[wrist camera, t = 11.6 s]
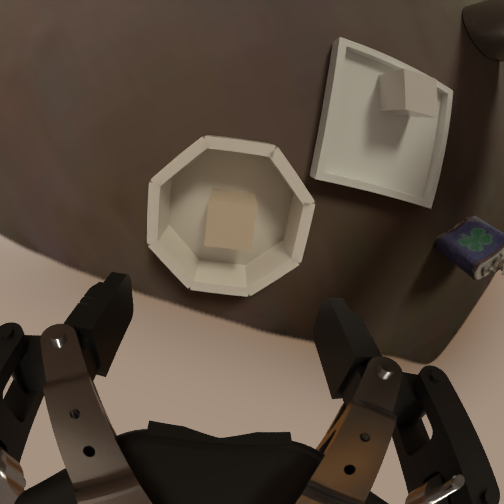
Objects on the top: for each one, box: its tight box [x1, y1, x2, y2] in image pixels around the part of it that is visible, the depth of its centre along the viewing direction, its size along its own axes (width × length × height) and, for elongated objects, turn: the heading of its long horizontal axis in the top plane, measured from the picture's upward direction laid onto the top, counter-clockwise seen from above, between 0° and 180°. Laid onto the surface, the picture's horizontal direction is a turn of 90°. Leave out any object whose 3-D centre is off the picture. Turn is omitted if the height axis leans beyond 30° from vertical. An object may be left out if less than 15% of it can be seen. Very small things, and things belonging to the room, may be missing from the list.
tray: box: [309, 37, 453, 209], centre depth 24 cm, size 15×15×2 cm
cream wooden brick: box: [204, 188, 258, 251], centre depth 25 cm, size 4×4×5 cm
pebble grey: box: [379, 69, 438, 118], centre depth 20 cm, size 4×4×5 cm
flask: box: [433, 216, 504, 280], centre depth 26 cm, size 9×3×11 cm, turn 117°
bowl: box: [147, 135, 315, 297], centre depth 25 cm, size 14×14×5 cm
